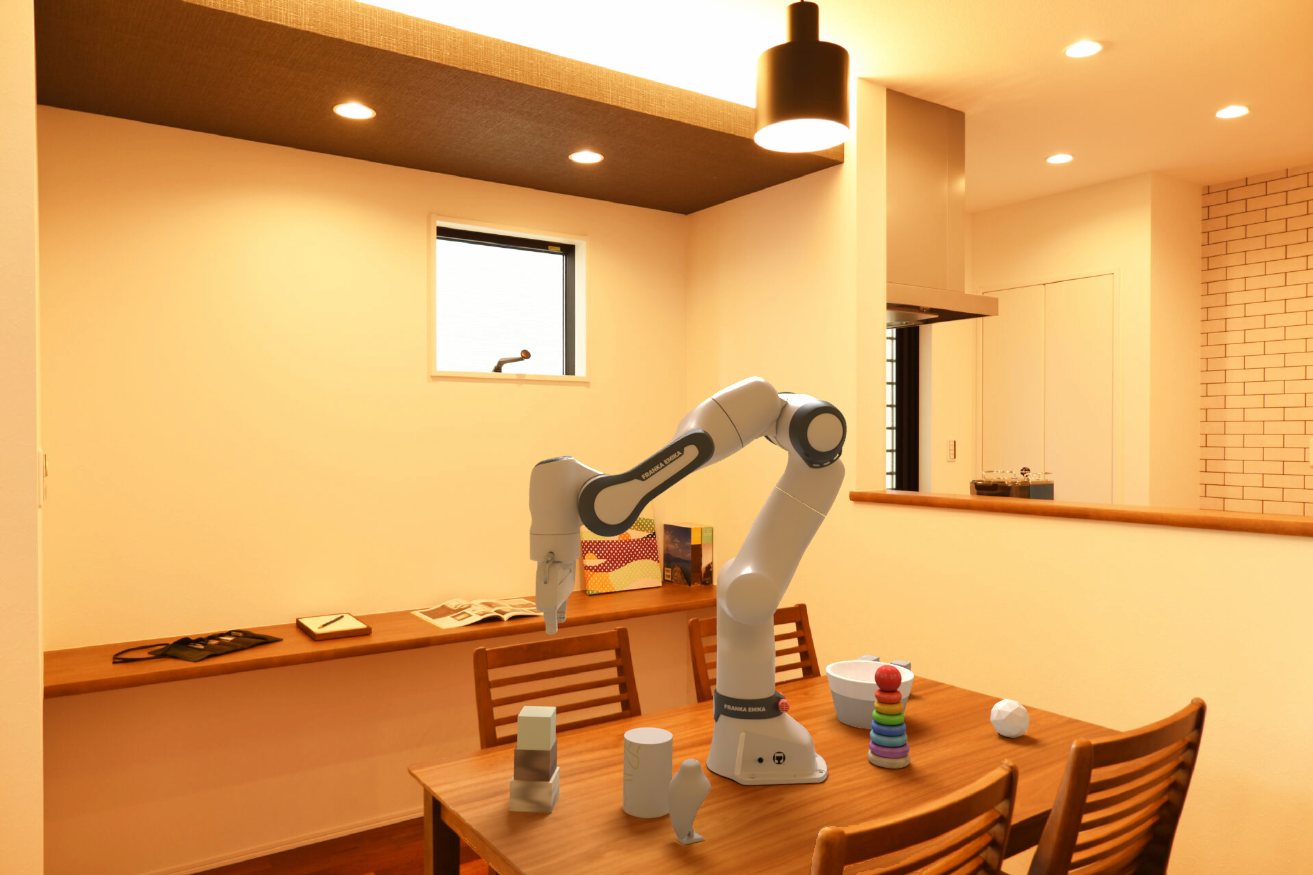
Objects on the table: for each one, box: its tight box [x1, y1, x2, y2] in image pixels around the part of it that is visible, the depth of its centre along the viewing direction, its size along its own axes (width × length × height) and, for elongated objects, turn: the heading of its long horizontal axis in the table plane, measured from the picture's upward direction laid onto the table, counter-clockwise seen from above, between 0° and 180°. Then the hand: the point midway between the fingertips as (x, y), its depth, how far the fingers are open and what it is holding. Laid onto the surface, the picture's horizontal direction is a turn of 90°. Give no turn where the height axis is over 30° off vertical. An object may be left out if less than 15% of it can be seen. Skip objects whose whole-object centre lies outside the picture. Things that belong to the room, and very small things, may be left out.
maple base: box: [508, 766, 561, 814], centre depth 144 cm, size 7×7×5 cm
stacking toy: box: [867, 665, 911, 769], centre depth 166 cm, size 8×8×19 cm
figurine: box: [668, 758, 712, 845], centre depth 132 cm, size 8×5×12 cm
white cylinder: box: [622, 726, 674, 819], centre depth 143 cm, size 8×8×12 cm
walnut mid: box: [513, 738, 558, 782], centre depth 145 cm, size 6×6×5 cm
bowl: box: [825, 660, 915, 730], centre depth 192 cm, size 19×19×11 cm
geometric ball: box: [990, 698, 1031, 739], centre depth 182 cm, size 8×8×8 cm
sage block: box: [516, 705, 557, 751], centre depth 144 cm, size 6×6×6 cm
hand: (556, 627), depth 151 cm, fingers open, 8 cm apart
